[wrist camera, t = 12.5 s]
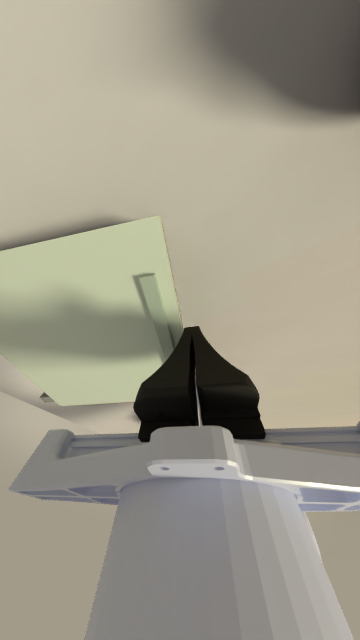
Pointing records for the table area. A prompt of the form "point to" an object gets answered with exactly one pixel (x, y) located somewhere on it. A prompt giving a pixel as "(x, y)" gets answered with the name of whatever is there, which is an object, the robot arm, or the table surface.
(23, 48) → the table surface
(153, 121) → the table surface
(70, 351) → the lid
